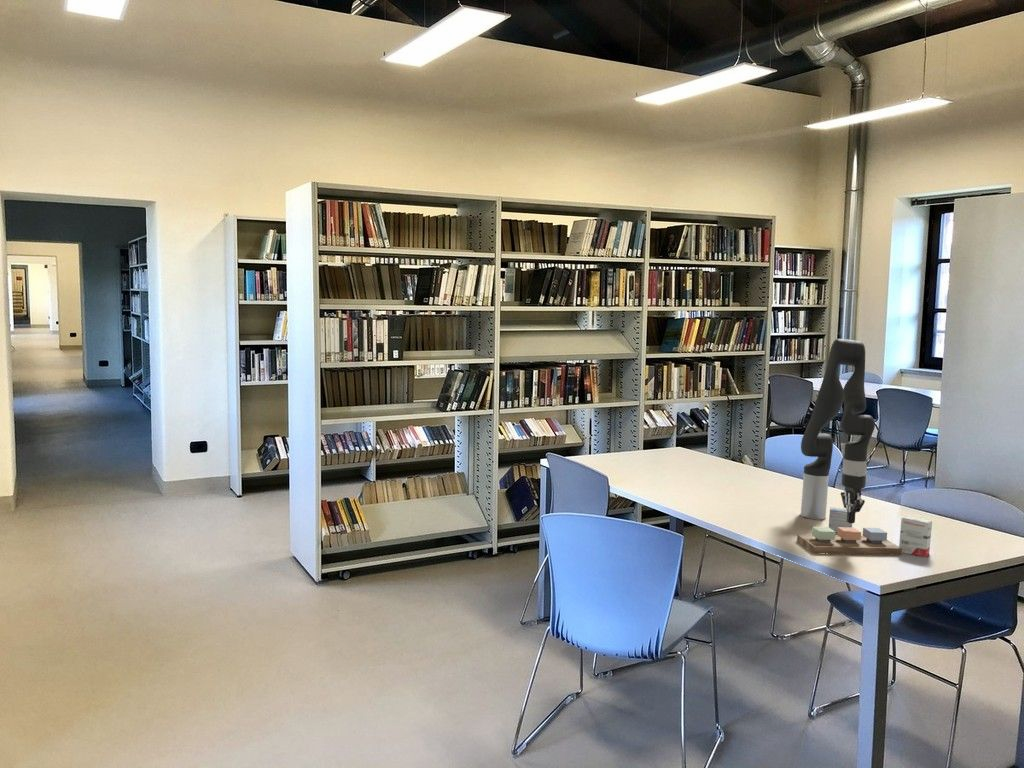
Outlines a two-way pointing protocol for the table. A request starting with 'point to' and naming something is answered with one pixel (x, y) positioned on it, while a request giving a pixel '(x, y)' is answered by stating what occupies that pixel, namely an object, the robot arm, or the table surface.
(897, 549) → the button board
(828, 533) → the sage button
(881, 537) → the slate button
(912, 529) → the ink box
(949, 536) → the table surface
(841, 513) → the medicine box
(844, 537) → the terracotta button
